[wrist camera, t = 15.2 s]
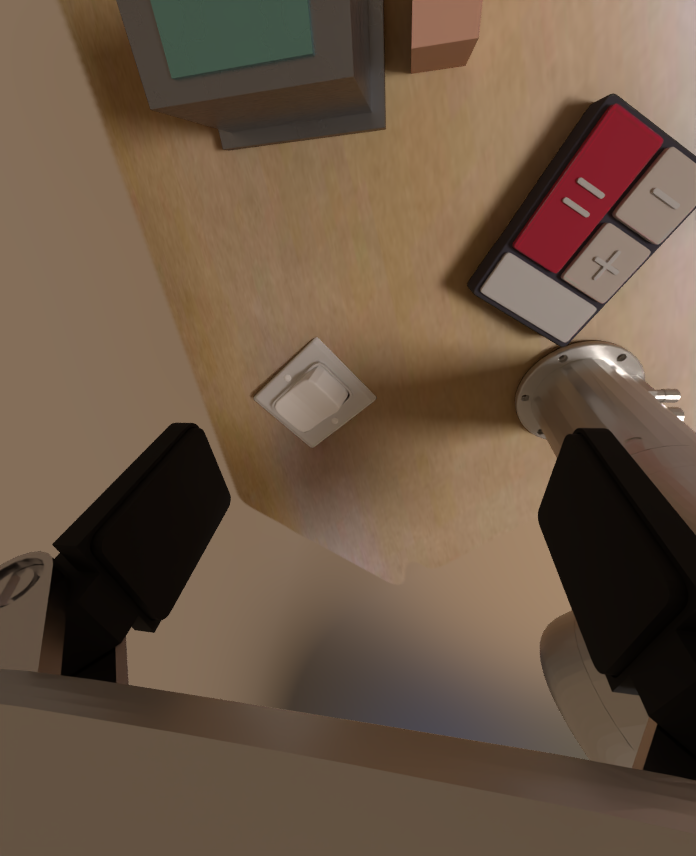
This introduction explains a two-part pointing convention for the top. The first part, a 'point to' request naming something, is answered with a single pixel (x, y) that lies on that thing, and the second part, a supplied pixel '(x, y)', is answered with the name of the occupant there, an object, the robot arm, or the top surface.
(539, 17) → the top surface
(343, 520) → the top surface
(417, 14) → the terracotta block
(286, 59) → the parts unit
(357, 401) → the light switch
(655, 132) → the calculator
